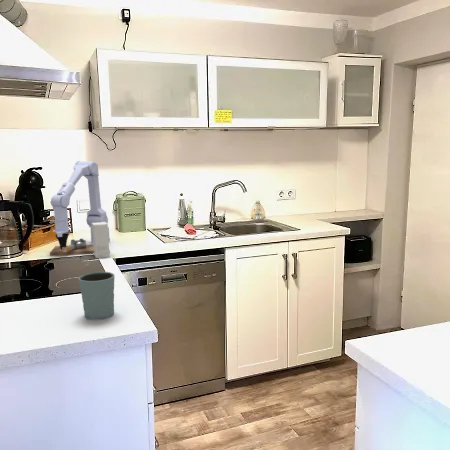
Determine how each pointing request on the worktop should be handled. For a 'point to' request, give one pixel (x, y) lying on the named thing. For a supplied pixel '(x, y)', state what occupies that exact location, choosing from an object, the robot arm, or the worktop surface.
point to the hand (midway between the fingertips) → (63, 249)
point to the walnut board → (72, 251)
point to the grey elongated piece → (75, 245)
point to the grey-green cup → (97, 294)
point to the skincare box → (100, 240)
